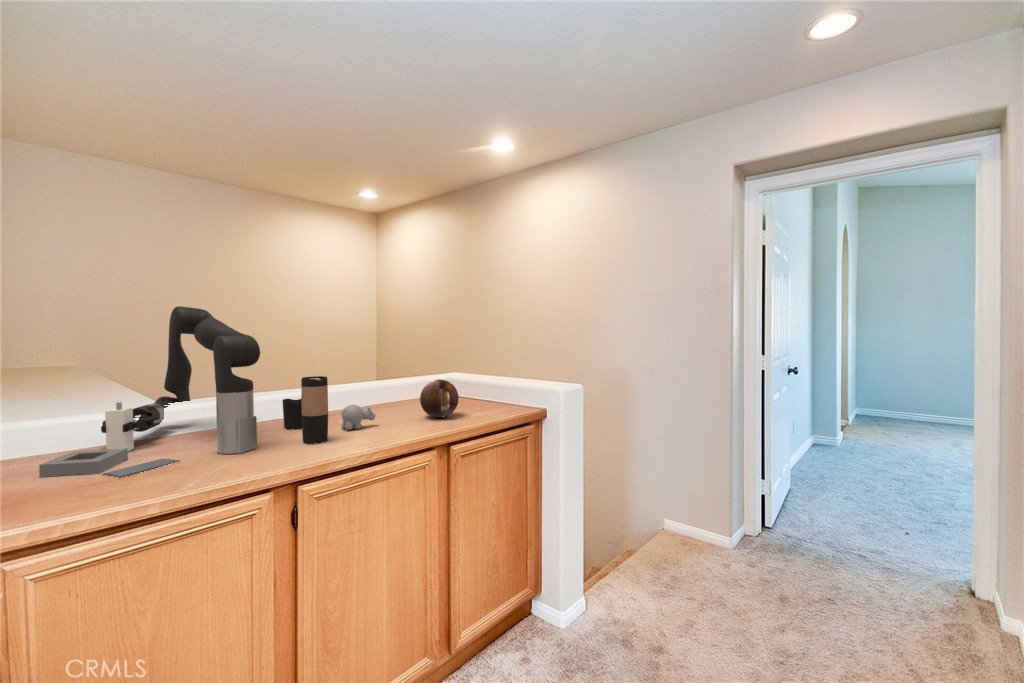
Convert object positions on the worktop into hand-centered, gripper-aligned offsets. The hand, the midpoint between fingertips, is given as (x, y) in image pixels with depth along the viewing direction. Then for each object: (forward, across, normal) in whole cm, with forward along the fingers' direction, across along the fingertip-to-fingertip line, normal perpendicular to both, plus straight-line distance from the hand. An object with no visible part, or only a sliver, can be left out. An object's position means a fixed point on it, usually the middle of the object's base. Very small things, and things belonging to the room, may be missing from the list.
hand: (114, 428), depth 128 cm
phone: (+16, +14, +8) cm, 23 cm away
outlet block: (+12, 0, +7) cm, 14 cm away
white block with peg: (-3, 0, +7) cm, 8 cm away
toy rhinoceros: (-19, +64, +8) cm, 67 cm away
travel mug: (-3, +52, +8) cm, 53 cm away
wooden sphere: (-31, +93, +8) cm, 98 cm away
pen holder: (-26, +42, +8) cm, 50 cm away
